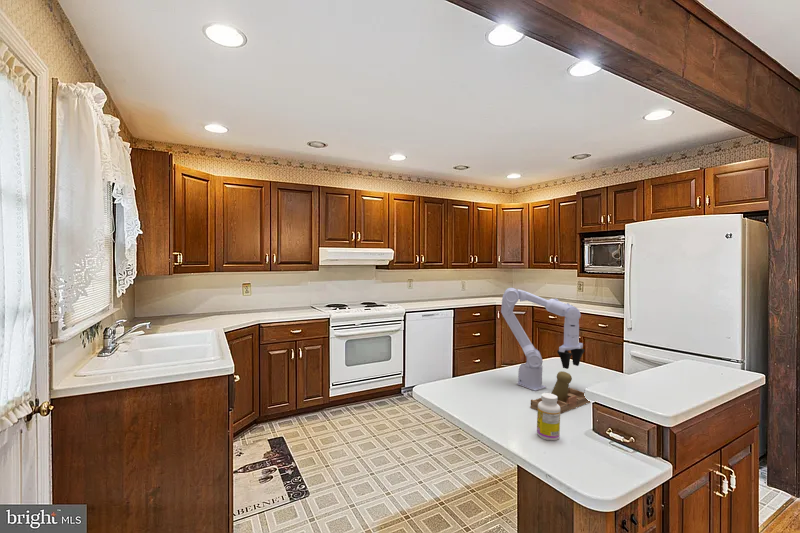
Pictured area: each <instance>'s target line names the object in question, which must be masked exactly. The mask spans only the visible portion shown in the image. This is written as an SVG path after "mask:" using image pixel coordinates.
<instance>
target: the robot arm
mask: <svg viewBox="0 0 800 533" xmlns="http://www.w3.org/2000/svg"><path fill="white" fill-rule="evenodd" d="M518 301H520V302H530V303H532V304H533V303H534V304H536V305H539V306H542V307H545V308H544V309H546V311H547V312H549V313H552V314H554V315H557V316H559V317H564V323H563V343H562V345H560V346H559V347H558V350H557V351H556V352H557V354H558V356H559V358H560V362H561V365H562V368H563V369H566V370H568V369H569V368H570V363H571V362H570V361H571V360H572V365H573V366H575V367H578V366H580V362H581V359H582V356H583V355H584V353H585V351H586V350H585V349H584V348H583V347H584V343H583V342H580V319H581V316H582V314H581V312H580V310H579V309H578V308H577V307H576V306H574V305H572V304H570V303H568V302H567V303H566V302H564V301H560V300H559V298H556V297H555V298H550V299H547V298H544V297H541V296H538V295H536V294H534V293H531V292H529V291H526V290H524V289H520V288H515V287H508V288H506V289H505V290H504V292H503V294H502V300H501V308H500V309H501V310H500V312H501V315H502V317H503V318H504V320H505V322H506V323H507V326H508V327H509V328H510V330H511V332H512V334H513V335H514V337H515V339H516V340H517V342H518V344H519V346H520V347H521V348H522V351H523V353H524V355H525V358H526V362H525V363H521V364H520V365H519V368H518V376H517V383H516V385H518V386H520V387H524V388H527V389H529V390H531V391H539V390H543V389H546V388H547V386H546V385H544V384H543V368H544V367H543V358H542V355H541V352H540V350H538V349H537V348H536V347H535V346H534V344H533V343H532V341H531V340H530V338H529V336H528V335H527V333H526V332H525V329H524V327H523V326H522V325H521V323H520V321H519V319H518V318H517V317H516V314H515V313H514V308H515V305H516V304H517V303H518ZM569 351H570V352H569ZM571 357H572V358H571Z"/></svg>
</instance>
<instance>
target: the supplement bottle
mask: <svg viewBox="0 0 800 533" xmlns="http://www.w3.org/2000/svg"><path fill="white" fill-rule="evenodd" d="M551 393H552V392H543V393H541V396H540V398H541V399H542V401H541V402H539V403H538V411H537V413H536V414H537V417H536V434H537V436H538V437H539V438H541V439H543V440H545V441H556V440H559V438H560V436H561V435H560V431H561V430H560V429H561V414H560V410H561V409H560V406H559V405H558V404H557V401H558V400H557V398H558V397H557V396H556V395H554V394H551Z"/></svg>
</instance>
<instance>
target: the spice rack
mask: <svg viewBox="0 0 800 533" xmlns="http://www.w3.org/2000/svg"><path fill="white" fill-rule="evenodd" d="M584 393H585V392H584V391H581V390H578V389H575V388H571V387H568V395H567V403H565V402H562V401H559V400H558V401H557V404H558V405H559V406H560V409H561V410H560V415H561V414H564V413H566V412H569V411H572V410H575V409H576V407H577V408H580V407H582V406H584V404H585V405H587V404H586V403H588V404H590V403H591V402H590V401H588V400H587V399H586V398H585V396H584ZM541 401H542V399H541V397H539V398H536V399H530V408H531V409H532V410H535V411H536V412H538V403H539V402H541ZM579 406H580V407H579ZM571 409H572V410H571Z"/></svg>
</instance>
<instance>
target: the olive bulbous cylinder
mask: <svg viewBox="0 0 800 533" xmlns="http://www.w3.org/2000/svg"><path fill="white" fill-rule="evenodd" d="M572 380H573V377H572V375H571V374H570V373H568V372H566V371H558V372H557V374H556V381H555V384H554V387H553V389H552V391H551V392H550V393H551V394H554V395H556V396H557V397H558V398H557V400H559V401H562V402H565V403H567V395H568V388H570V386H569V384H571V382H572Z"/></svg>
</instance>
